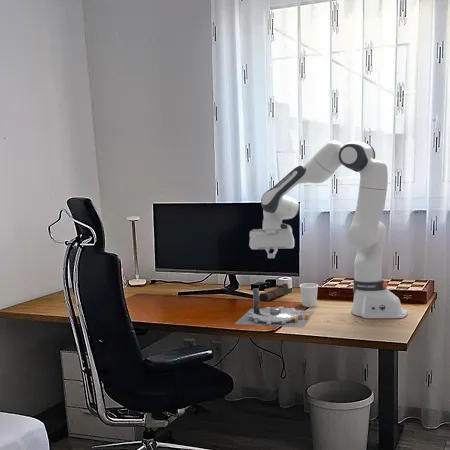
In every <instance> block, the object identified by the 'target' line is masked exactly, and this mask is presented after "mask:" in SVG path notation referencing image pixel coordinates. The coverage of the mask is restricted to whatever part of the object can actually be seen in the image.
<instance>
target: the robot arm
mask: <svg viewBox="0 0 450 450" xmlns="http://www.w3.org/2000/svg"><path fill="white" fill-rule="evenodd" d="M341 166H344V167H345V168H347V169H349V170H350V171H351V170H352V171H353V172H355V173H359V176H360V178H359V186H358V195H357V202H356V208H355V211H354V214H353V218H352V221H351V225H350V227H349V229H348V231H347V235H346V239H347V242H348V244H349V245H350V246H351V247H353V248H355V249H357V250H356V255H355V259H354V261H353V263H354V264H353V267H354V271H353V273H354V278H353V283H352V285H353V286H352V288H353V289H352V291H353V293H354V294H353V302H352V308H351V311H350V313H351V314H352V315H354V316H358V317H362V318H364V319H403V318H406V317H407V315H408V314H407V313H408V311H407V309H405V308H403V307H402V304H401V300H400V298H399V297H398V296H397V295H395V294H394V293H393V292H391V290H389V289H388V283H387V281H386V280H384V279H382V277H383V276H382V275H383V274H382V259H383V252H384V249H385V248H384V247H385V241H386V240H385V239H386V237H387V227H386V225H385V223H383V222H382V221H380V220H381V217H382V214H383V212H384V210H385V208H386V201H387V200H386V199H387V192H388V191H387V190H388V185H389V184H388V180H389V178H388V177H389V175H388V173H389V172H388V166H387V164H386V163H385V162H383V161H381V160H378V159H376V151H375V149H374V147H373V146H372V145H370V144H369V143H366V142H362V141H351V142H350V141H349V142H347V143H345V144H344V145H343V144H342V143H341V142H339V141H337V140H332V141H329V142H327V143H326V144H325V145H323V146H322V147H321V148H320V149H319V150H318V151H317V152H316V153H314V156H313V157H312V158H311V159H309V160H308V161H307V162H305V163H303V164H301V165H298V166H296V167H295V168H293V169H292V170H291V171H290V172H289V173H287V174H286V175H285V176H284V177H283V178H282V179H281V180H280V181H278V182H277V183H276V184H275V185H274V186H272V187H270V189H268V190H267V191H265V192H264V193H263V194H262V196H261V199H260V205H261V208H262V209H263V210H262V211H263V212H262V214H263V219H262V228H258V229H257V228H256V229H255V228H253V229H251V230H250V231H249V235H248V236H249V243H248V246H249V248H250V250H265V251H266V253H267V258H268V259H275V257H276V254H277V252H278V250H279V249H280V250H281V249H283V250H284V249H294V247H295V238H294V235H293V228H292V226H291V225H290V224H286V223H283V220H291V219H293V218H296V216H297V215H298V214H299V211H300V203H299V201H298V200H297V199H295V198H293V197H291V196H290V195H289V196H288V195H287V193H289V192H290V191H291V190H293V189H294V187H295V186H297V185H300V184H307V183H310V184H321V183H325V182H326V181H327V180H329V178H331V176H333V174H334V173H335V172H336V171H337V170H338V169H339V168H340V167H341ZM270 250H273V252H272V253H271V252H270Z"/></svg>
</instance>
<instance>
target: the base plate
mask: <svg viewBox="0 0 450 450" xmlns="http://www.w3.org/2000/svg"><path fill="white" fill-rule="evenodd" d="M253 311H254V308H250V309H249V310H248V311H247V312H246V313H245V314H243V315H242V316H241V317H240V318H239V319H238V320H237V321H236V322H235V323H234V325H242V326H243V325H246V326H265V327H266V326H267V327H269V326H270V327H285V328H286V327H288V328H305V326H306V325H307V323H308V322H309V320H310V319H311V317H312V315H314V313H315V311H314V310H301V311H302V312H303V319H298V321H297V322H287V323H286V324H281V323H275V324H273V323H272V324H267V323H261V322H259V323H255V322H254V320H249V319H248V313H249V312H253Z"/></svg>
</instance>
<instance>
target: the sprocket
mask: <svg viewBox="0 0 450 450" xmlns="http://www.w3.org/2000/svg"><path fill="white" fill-rule="evenodd" d="M259 295H260V290H259V288H252V296H253V297H252V300H253V309H254V311H253V312H249V313H248V319H249V320H254V322H255V323H259V322H261V323H267V324H272V323H273V324H275V323H281V324H286V323H287V322H297V321H298V319H303V312H302V311H303V310H297V309H296V308H295V307H284V306H276V307H275V306H273V307H270V306H266V307H264V308H260V300H259Z"/></svg>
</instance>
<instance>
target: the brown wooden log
mask: <svg viewBox="0 0 450 450" xmlns="http://www.w3.org/2000/svg"><path fill="white" fill-rule="evenodd" d="M288 294H289V285H288V283H282V284H279V285H278V287H276V288H274V289H272V290H268V291H265V292H261V293H260V292H259V302H263V303H266V302H270V300H273V299H276V298H278V297H285V296H287V295H288Z"/></svg>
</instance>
